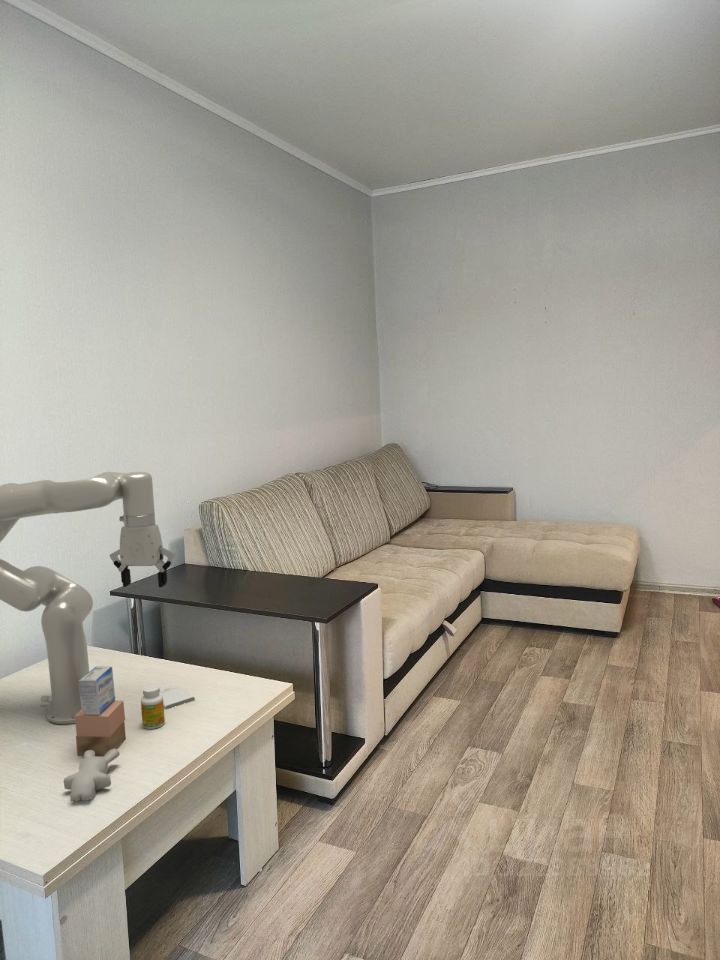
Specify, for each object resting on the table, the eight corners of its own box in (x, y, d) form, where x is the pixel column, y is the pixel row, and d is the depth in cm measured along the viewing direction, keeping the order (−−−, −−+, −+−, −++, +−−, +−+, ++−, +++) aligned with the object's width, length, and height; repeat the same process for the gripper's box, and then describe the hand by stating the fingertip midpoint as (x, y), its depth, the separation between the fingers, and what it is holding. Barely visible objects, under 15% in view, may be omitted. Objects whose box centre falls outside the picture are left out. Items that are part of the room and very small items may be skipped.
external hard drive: (165, 711, 182) (148, 695, 192) (195, 702, 187) (176, 687, 197) (165, 705, 182) (147, 690, 192) (194, 696, 187) (176, 681, 196)
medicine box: (99, 715, 159) (96, 680, 157) (81, 715, 159) (77, 679, 158) (115, 700, 166) (112, 665, 165) (98, 699, 167) (95, 665, 166)
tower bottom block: (77, 756, 160) (75, 736, 160) (94, 738, 168) (92, 719, 168) (110, 757, 160) (108, 737, 159) (125, 739, 167) (124, 720, 167)
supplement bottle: (144, 731, 171) (141, 694, 169) (140, 722, 175) (137, 686, 174) (167, 726, 173) (164, 689, 172) (162, 717, 178) (159, 681, 176)
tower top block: (76, 736, 160) (74, 715, 159) (93, 719, 168) (91, 699, 167) (109, 737, 159) (107, 716, 158) (125, 720, 167) (123, 700, 166)
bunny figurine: (54, 788, 141) (79, 742, 155) (58, 810, 142) (82, 762, 156) (102, 786, 141) (122, 740, 155) (105, 807, 142) (125, 760, 157)
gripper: (100, 523, 174) (106, 589, 176) (166, 523, 171) (170, 590, 174) (114, 517, 181) (120, 581, 184) (177, 517, 179) (182, 581, 181)
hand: (144, 585), depth 179 cm, fingers open, 9 cm apart
